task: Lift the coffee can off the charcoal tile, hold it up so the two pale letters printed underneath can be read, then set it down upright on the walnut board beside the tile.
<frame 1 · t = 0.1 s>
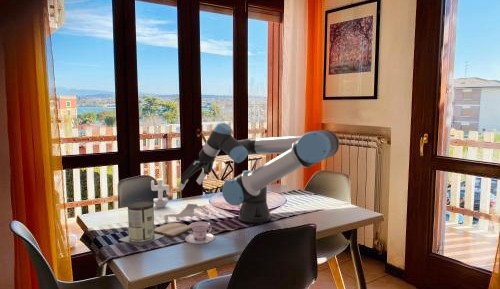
hand: (189, 185, 180), 15 cm above the table, tool tilted 35°, fingers open, 13 cm apart
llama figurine: (187, 220, 176), on the table
coffee can: (141, 238, 152), resting on code tile
teacup: (200, 239, 151), on the table
walnut board: (172, 229, 162), on the table
code tile: (141, 238, 152), on the table
figurine: (160, 206, 199), on the table
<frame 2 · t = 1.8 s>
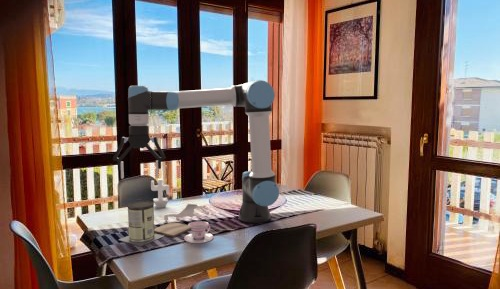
hand: (140, 177, 150), 25 cm above the table, tool pointing down, fingers open, 13 cm apart
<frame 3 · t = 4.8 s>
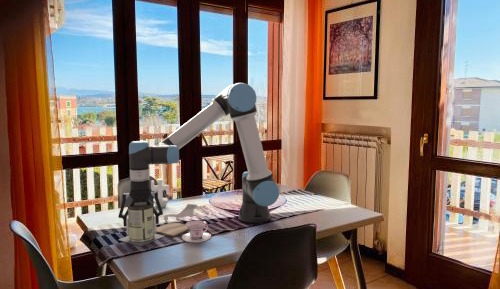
hand: (141, 232, 152), 2 cm above the table, tool pointing down, fingers closed on coffee can, 10 cm apart
coffee can: (141, 238, 152), resting on code tile, touching gripper
teacup: (196, 238, 153), on the table
everything else where it was.
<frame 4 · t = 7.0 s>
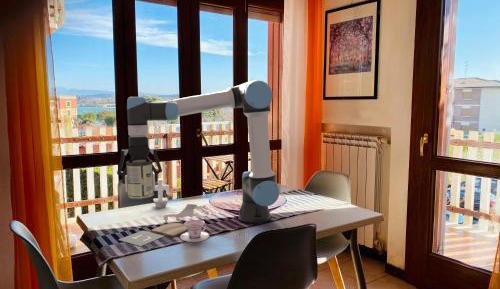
hand: (140, 190, 150), 20 cm above the table, tool pointing down, fingers closed on coffee can, 10 cm apart
coffee can: (140, 196, 150), point 18 cm above the table, touching gripper
teacup: (194, 237, 153), on the table
everything else where it was.
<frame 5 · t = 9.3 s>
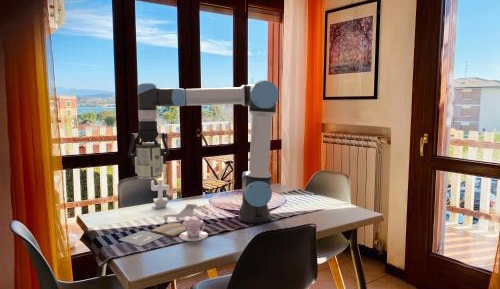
hand: (149, 172, 159), 26 cm above the table, tool pointing down, fingers closed on coffee can, 10 cm apart
coffee can: (149, 177, 159), point 23 cm above the table, touching gripper
teacup: (193, 237, 154), on the table
everything else where it was.
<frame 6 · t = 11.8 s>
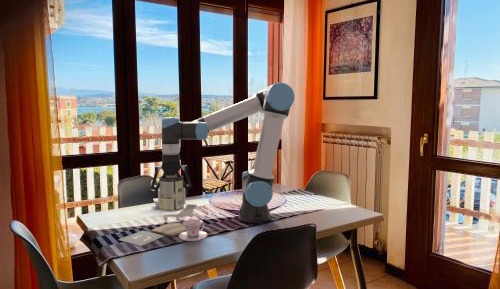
hand: (171, 204, 160), 11 cm above the table, tool pointing down, fingers closed on coffee can, 10 cm apart
coffee can: (171, 209, 161), point 9 cm above the table, touching gripper
everything else where it was.
when the fingers open (4 cm above the table, at t = 14.1 s): coffee can drops 1 cm, resting on walnut board.
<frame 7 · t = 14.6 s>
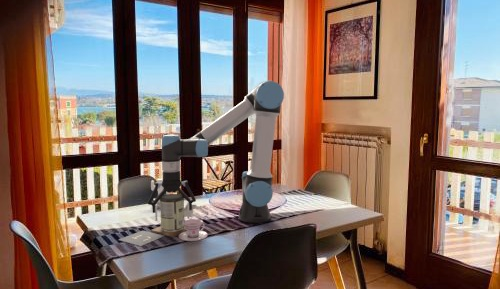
hand: (172, 218, 161), 5 cm above the table, tool pointing down, fingers open, 13 cm apart
coffee can: (172, 228, 162), point 1 cm above the table, touching walnut board
everything else where it was.
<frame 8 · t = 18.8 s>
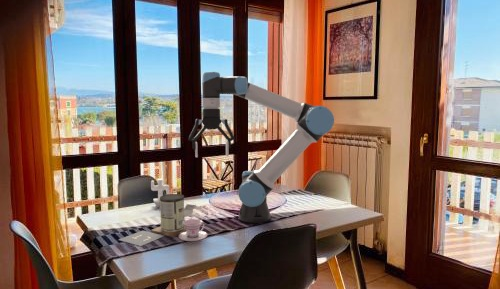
hand: (211, 156, 163), 32 cm above the table, tool pointing down, fingers open, 13 cm apart
nothing on the table moved.
at the end: coffee can 0.0 cm off-centre on the walnut board, point 0.6 cm above the walnut board's base; coffee can tilted 0°; coffee can touching walnut board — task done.
